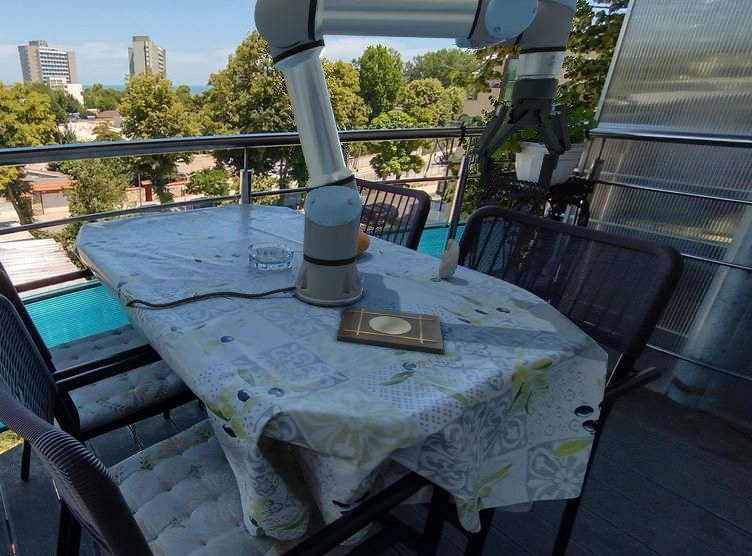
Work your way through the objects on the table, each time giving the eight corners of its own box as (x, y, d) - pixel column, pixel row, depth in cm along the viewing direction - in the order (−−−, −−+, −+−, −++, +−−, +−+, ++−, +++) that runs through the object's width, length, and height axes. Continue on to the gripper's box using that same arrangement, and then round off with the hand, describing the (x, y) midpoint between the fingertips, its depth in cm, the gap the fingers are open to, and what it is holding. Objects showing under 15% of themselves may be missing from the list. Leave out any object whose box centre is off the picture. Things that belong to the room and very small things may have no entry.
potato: (324, 255, 133) (325, 229, 130) (351, 247, 138) (352, 223, 135) (349, 263, 126) (351, 236, 123) (376, 254, 131) (379, 229, 128)
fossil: (456, 283, 110) (463, 242, 106) (441, 282, 111) (447, 242, 107) (450, 274, 115) (457, 235, 111) (435, 274, 116) (441, 235, 112)
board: (336, 340, 86) (337, 334, 86) (345, 310, 98) (346, 305, 98) (442, 354, 80) (443, 348, 80) (438, 320, 92) (439, 315, 92)
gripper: (488, 78, 87) (468, 193, 95) (612, 75, 89) (581, 187, 97) (465, 80, 94) (448, 187, 102) (580, 77, 96) (554, 181, 104)
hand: (513, 187), depth 99 cm, fingers open, 13 cm apart
